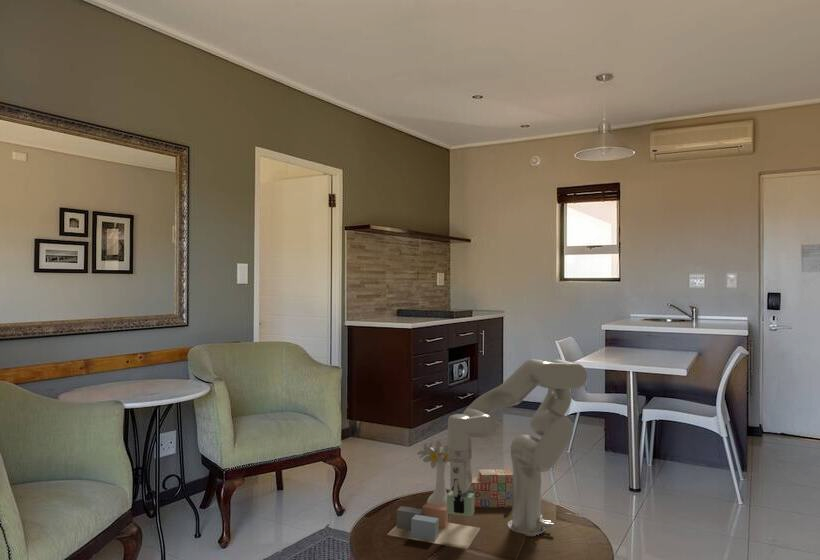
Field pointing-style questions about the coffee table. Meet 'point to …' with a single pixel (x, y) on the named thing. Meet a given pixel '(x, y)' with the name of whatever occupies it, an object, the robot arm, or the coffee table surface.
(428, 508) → the terracotta brick
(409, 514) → the charcoal brick
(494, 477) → the stack of blocks
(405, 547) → the coffee table surface
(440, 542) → the birch board
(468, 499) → the sage brick
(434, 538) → the dusty blue brick
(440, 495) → the flower vase
